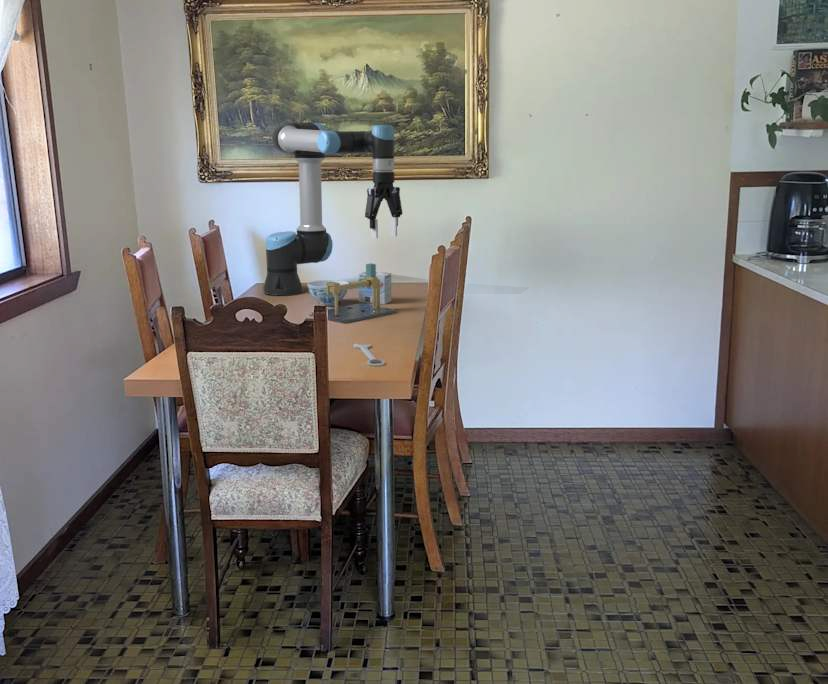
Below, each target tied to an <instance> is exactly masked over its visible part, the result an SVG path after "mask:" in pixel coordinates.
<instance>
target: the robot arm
mask: <svg viewBox="0 0 828 684" xmlns="http://www.w3.org/2000/svg"><path fill="white" fill-rule="evenodd" d="M371 128H372V129H371V131H369V130H368V131H367V130H355V131H353V130H352V131H351V130H348V131H346V130H345V131H343V130H341V131H340V130H328V129H327V128H326V126H325V125H324V124H322V123H319V122H284V123H280V124H279V125H277V126H276V127H275V128H274V129H273V131H272V134H271V141H272V146H274V148H275V149H276V150H277V151H279V152H280V153H283V154H287V155H294V160H295V161H297V162H298V181H299V184H298V185H299V186H298V189H299V219H300V220H299V222H300V225H299V226H298V227H297V228H296V232H295V231H292V230H291V231H290V230H287V231H278V232H274V233H271V234H269V235H268V236H266V238H265V239H266V240H265V253H266V277H265V280H264V284H263V288H262V289H263V290H262V292H265V293H268V294H277V295H285V296H294V295H293V294H295V295H300V294H302V293H303V286H302V283H301V279H300V276H299V274H298V265H303V264H312V263H314V264H317V263H320V262H325V261H327V260H328V259H329V258H330V256H331V254H332V251H333V247H334V245H333V239H332V237H331V235H330V233H328V232H327V228H326V227H325V226H324V225H323V205H322V203H323V200H322V199H323V198H322V162H323V161H324V160H325V159H326V157H325V154H326V155H335V154H337V155H338V154H339V155H340V154H341V155H342V154H372V171H373V173H372V182H373V184H374V185H373V188H367V189H366V192H367V193H366V194H367V198H366V203H365V204H366V205H365V210H364V217H365V218H367V220H369V228H370V238H371V239H378V238H379V224H378V223H379V220H378V219H377V216H378V213H379V210H380V207H381V204H382V202H383V200H385V201H386V203H387V206H388V208H389V209H388V210H389V211H390V214H391V216H389V236H390V237H398V226H399V218H401V216H402V215H403V208H402V201H401V194H400V192H401V191H400V190H401V188H400V187H399V186H394V183H395V172H394V171H395V140H396V139H395V138H396V137H395V130H394V129H395V128H394V126H392V125H388V124H387V125H386V124H382V125H381V124H377V125H376V124H375V125H372V127H371Z"/></svg>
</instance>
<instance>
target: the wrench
mask: <svg viewBox="0 0 828 684" xmlns="http://www.w3.org/2000/svg"><path fill="white" fill-rule="evenodd" d="M353 347H354V349H356V350H361V352H362V353H363V354H364V355H365V356H366V357H367V359H368V360H367V361H366V365H367V366H369V367H383V366H384V365H386V361H385V360H384V359H381V358H377V357H376V356H375V355H374V353H372V351H370V350H369V349H370V347H371V348H372V344H370V343H369V344H360V343H354V344H353ZM353 347H352V348H353ZM379 362H380V363H379Z"/></svg>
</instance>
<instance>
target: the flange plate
mask: <svg viewBox="0 0 828 684" xmlns="http://www.w3.org/2000/svg"><path fill="white" fill-rule="evenodd" d="M327 310H328V321H332V322H336V323H341V324H348V323H349V324H350V323H353V322H358V321H363V320H369V319H373V317H374V318H377V316H379V317H382V315H383V316H387V314H388V315H393V314H396V312H397V309H392V308H388V307H384V306H383V307H382V306H380V307H375V308H374V307H373V304H369V303H364V302H359V303H355V304H349V305H344V306H338V316H335V307H334V308H328V309H327ZM313 312H314V311H313ZM313 312H311V313H312V315H313ZM392 313H393V314H392ZM368 318H369V319H368Z"/></svg>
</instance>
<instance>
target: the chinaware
mask: <svg viewBox="0 0 828 684" xmlns="http://www.w3.org/2000/svg"><path fill="white" fill-rule="evenodd" d="M326 282H337V283H340V285H343V284H349V281H345V280H341V279H340V280H338V279H322V280H316V281H315V280H314V281H309V282H308V283H307V289H308V292H309V294H310V295H311V296H312V298H313V299H314V300H316V301H317V302H318V303H319V304H320V303H323V304H321V305H320V306H322V305H326V306H325V307H332V306H334V307H335V295H333V294H327V285H326ZM348 290H349V289H347V290H341V291H340V295H338V303H339V302H340V301H341V300H343V298H344V297H346V294H347V292H348Z"/></svg>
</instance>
